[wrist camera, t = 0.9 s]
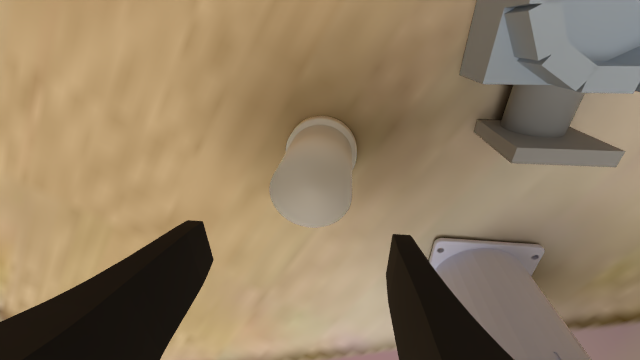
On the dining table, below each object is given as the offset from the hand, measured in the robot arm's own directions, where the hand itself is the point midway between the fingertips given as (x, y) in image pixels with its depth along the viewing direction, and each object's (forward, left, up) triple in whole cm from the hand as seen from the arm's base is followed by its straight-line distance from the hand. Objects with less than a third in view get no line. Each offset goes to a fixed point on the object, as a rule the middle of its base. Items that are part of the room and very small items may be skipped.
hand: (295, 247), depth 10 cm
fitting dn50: (0, 0, -10) cm, 10 cm away
